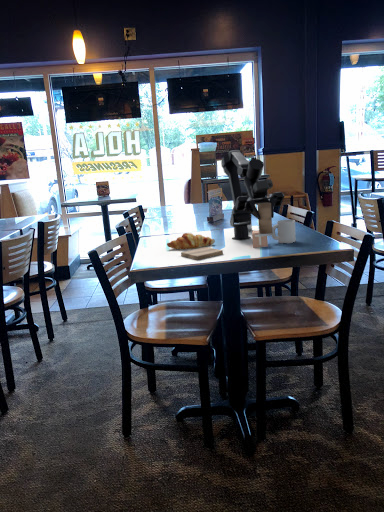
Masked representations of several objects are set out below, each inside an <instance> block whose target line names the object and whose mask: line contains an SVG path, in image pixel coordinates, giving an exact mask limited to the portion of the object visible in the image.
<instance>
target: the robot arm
mask: <svg viewBox="0 0 384 512" xmlns="http://www.w3.org/2000/svg"><path fill="white" fill-rule="evenodd" d="M220 162H221V167H222V169H223V172H224V173H225V175H226V176H227V177H228V183H229V186H230V193H231V197H232V203H233V208H232V210H231V215H230V219H229V225H230V227H233V233H234V236H233V237H231V239H232V240H238V241H243V240H247V239H251V238H252V236H250V235H249V231H248V225H251V222H252V216H253V217H254V218H256V219H257V220H258V219H259V220H260V215H259V213H258V207H257V206H256V205H258V204H259V203H271V215H272V219H274V217H275V216H274V215H275V210H274V209H275V207H280V206H281V205H283V204H282V203H283V201H284V199H285V194H284V193H283V192H282V191H277V192H276V191H275V192H272V194H271V196H268V191H269V190H270V189H272V188H273V186H274V185H273V184H274V183H273V181H272V179H270V178H269V179H266V180H259V179H261V177H262V173H263V171H264V167H265V166H264V165H265V163H264V161H262V160H261V159H258V158H257V156H256V157H255V156H254V157H253V156H252V157H250V160H247V158H246V157H245V156H244V155H243V153H242V151H241V150H239V149H235V150H230V151H228V153H227V154H225V155H224V156H223V157H222V159H221V161H220ZM240 178H241V179H243V184H244V185H243V187H244V188H246V190H247V193H248V197H250V198H248V197H247V196H242V192H243V191H242V187H241V182H240ZM243 222H245V223H243Z"/></svg>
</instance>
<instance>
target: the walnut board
mask: <svg viewBox="0 0 384 512" xmlns="http://www.w3.org/2000/svg"><path fill="white" fill-rule="evenodd" d="M223 254H224V251H223V249H217V248H213V247H209V246H208V247H207V246H204V247H200V248H195V249H188V250H186V251H181V252H180V255H181V257H184V258H187V257H188V258H187V259H191V260H195V261H201V260H205V259H208V258H212V257H217V256H220V255H223Z"/></svg>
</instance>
